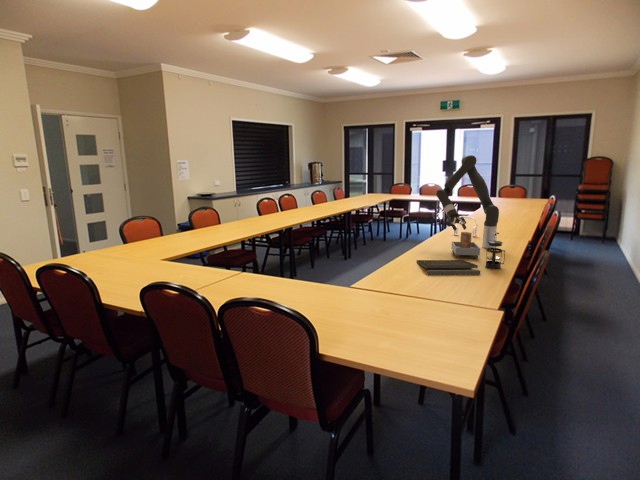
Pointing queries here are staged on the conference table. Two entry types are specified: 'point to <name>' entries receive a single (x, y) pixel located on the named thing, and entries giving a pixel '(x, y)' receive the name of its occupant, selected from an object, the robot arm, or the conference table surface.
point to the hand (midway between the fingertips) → (460, 229)
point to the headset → (473, 227)
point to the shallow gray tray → (465, 250)
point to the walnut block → (465, 240)
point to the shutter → (449, 265)
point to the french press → (494, 254)
